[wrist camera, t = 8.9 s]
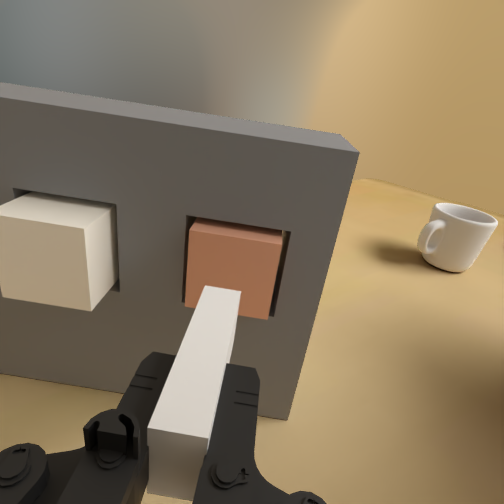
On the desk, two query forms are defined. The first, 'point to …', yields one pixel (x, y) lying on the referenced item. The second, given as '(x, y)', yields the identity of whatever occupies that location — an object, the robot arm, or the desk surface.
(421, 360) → the desk surface
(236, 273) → the terracotta button
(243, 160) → the button panel
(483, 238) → the cup
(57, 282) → the cream button
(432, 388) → the desk surface
